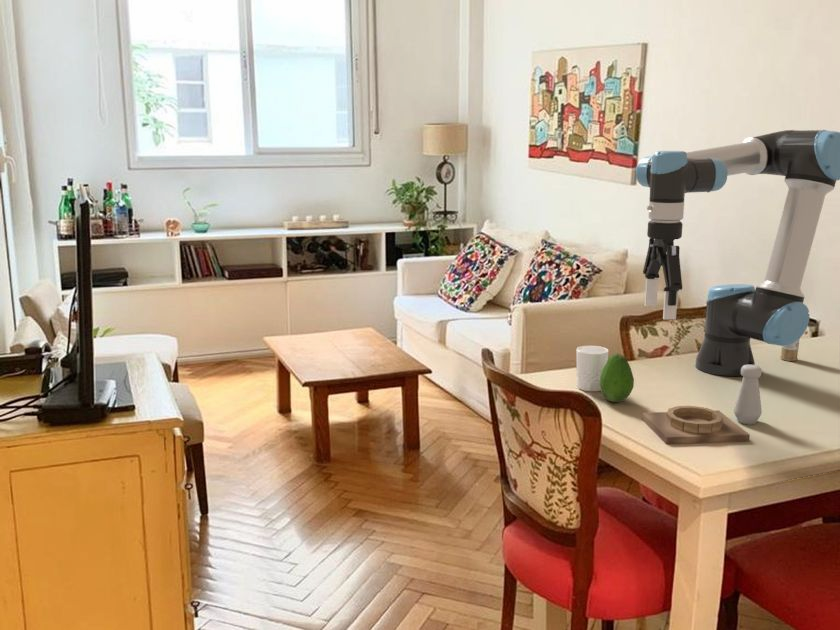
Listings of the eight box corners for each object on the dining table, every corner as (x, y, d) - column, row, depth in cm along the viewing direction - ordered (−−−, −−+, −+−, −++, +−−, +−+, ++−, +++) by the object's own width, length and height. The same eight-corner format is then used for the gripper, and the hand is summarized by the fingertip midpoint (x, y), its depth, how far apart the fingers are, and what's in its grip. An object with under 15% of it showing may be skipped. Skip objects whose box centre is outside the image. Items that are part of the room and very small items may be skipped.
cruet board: (718, 416, 190) (719, 402, 189) (749, 441, 175) (750, 425, 174) (641, 419, 188) (642, 404, 188) (666, 444, 174) (667, 428, 173)
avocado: (604, 407, 196) (606, 358, 193) (594, 396, 204) (597, 349, 201) (637, 406, 197) (640, 357, 194) (626, 395, 204) (629, 348, 202)
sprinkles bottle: (787, 356, 238) (791, 310, 235) (801, 360, 234) (806, 313, 231) (776, 358, 236) (781, 312, 233) (790, 362, 232) (795, 315, 229)
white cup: (570, 389, 209) (572, 351, 207) (580, 381, 216) (581, 344, 214) (601, 394, 206) (603, 355, 203) (610, 385, 212) (612, 347, 210)
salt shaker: (751, 416, 190) (756, 361, 187) (765, 425, 185) (771, 368, 182) (727, 417, 189) (732, 362, 186) (741, 426, 184) (746, 370, 181)
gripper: (632, 214, 200) (628, 301, 204) (667, 227, 175) (660, 325, 180) (663, 214, 200) (658, 300, 205) (702, 227, 176) (695, 324, 180)
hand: (659, 312), depth 192 cm, fingers open, 13 cm apart
